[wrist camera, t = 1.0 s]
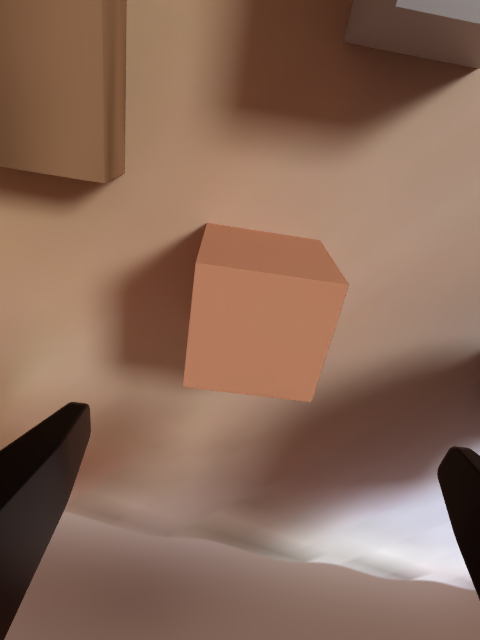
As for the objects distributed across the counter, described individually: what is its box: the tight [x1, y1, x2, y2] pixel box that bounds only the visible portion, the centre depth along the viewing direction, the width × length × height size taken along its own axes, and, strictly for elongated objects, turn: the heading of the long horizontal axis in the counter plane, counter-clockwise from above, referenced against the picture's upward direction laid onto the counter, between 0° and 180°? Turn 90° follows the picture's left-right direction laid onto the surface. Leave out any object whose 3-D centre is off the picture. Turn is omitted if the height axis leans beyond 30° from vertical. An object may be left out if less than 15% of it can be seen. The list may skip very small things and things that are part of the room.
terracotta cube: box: [183, 223, 349, 402], centre depth 15 cm, size 5×5×5 cm
